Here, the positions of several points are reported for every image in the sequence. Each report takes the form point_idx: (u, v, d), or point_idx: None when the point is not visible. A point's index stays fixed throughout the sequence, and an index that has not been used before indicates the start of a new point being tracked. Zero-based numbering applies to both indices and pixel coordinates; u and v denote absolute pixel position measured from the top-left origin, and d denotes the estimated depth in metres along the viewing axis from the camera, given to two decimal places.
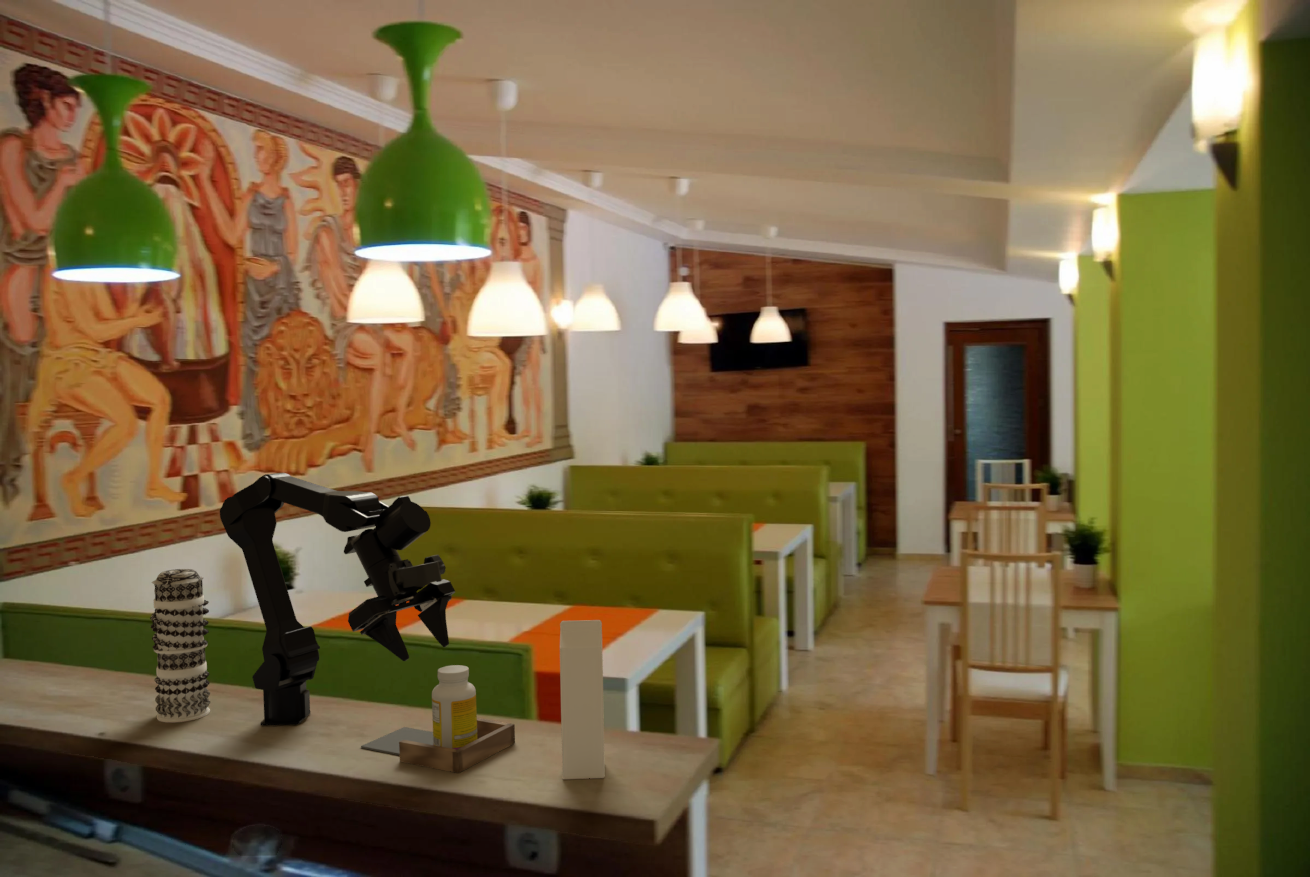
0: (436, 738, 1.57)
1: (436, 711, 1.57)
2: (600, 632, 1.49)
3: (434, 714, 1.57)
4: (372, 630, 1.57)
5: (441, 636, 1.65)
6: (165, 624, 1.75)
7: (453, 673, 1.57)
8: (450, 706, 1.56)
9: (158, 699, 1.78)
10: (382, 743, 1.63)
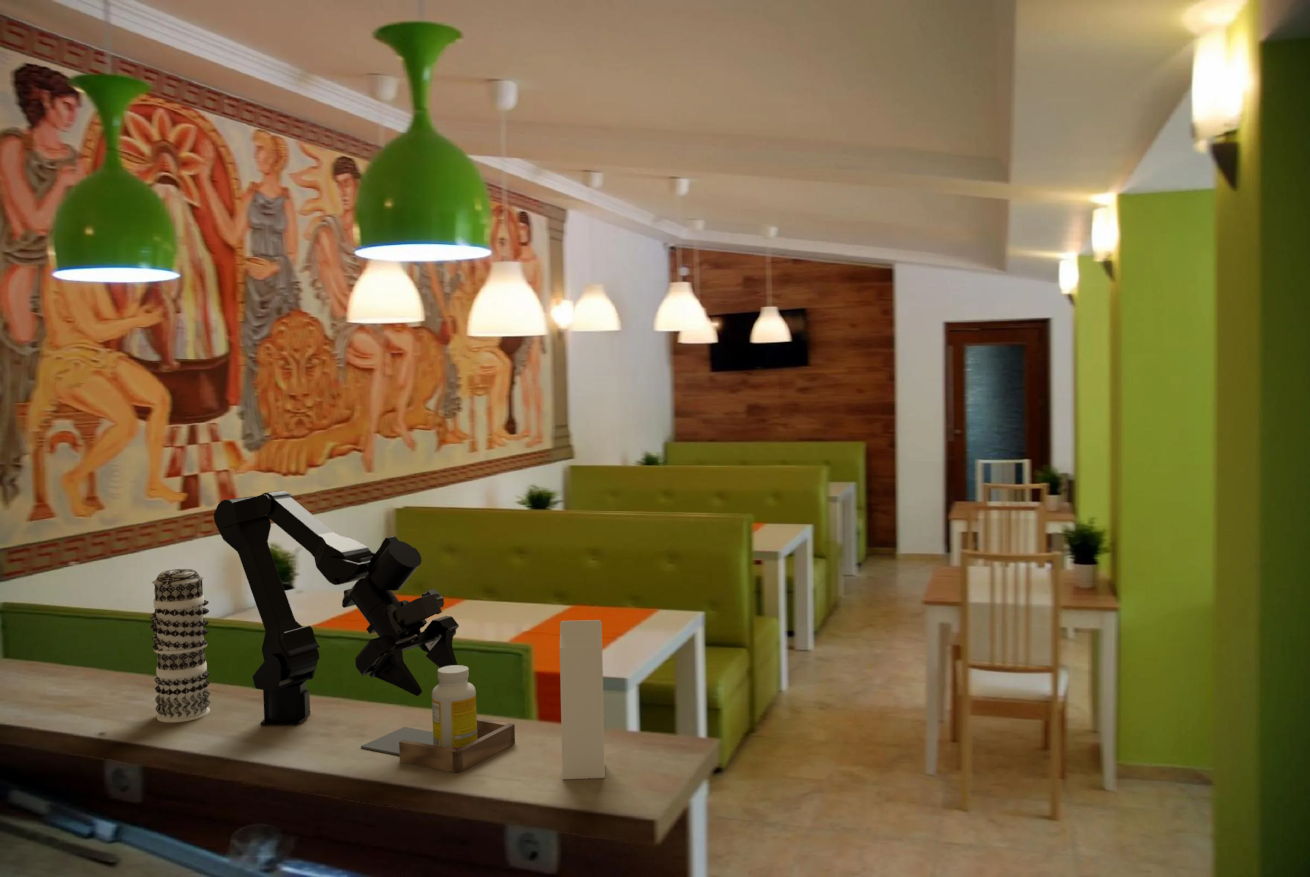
0: (436, 738, 1.57)
1: (436, 711, 1.57)
2: (600, 632, 1.49)
3: (434, 714, 1.57)
4: (381, 671, 1.57)
5: None
6: (165, 624, 1.75)
7: (453, 673, 1.57)
8: (450, 706, 1.56)
9: (158, 699, 1.78)
10: (382, 743, 1.63)
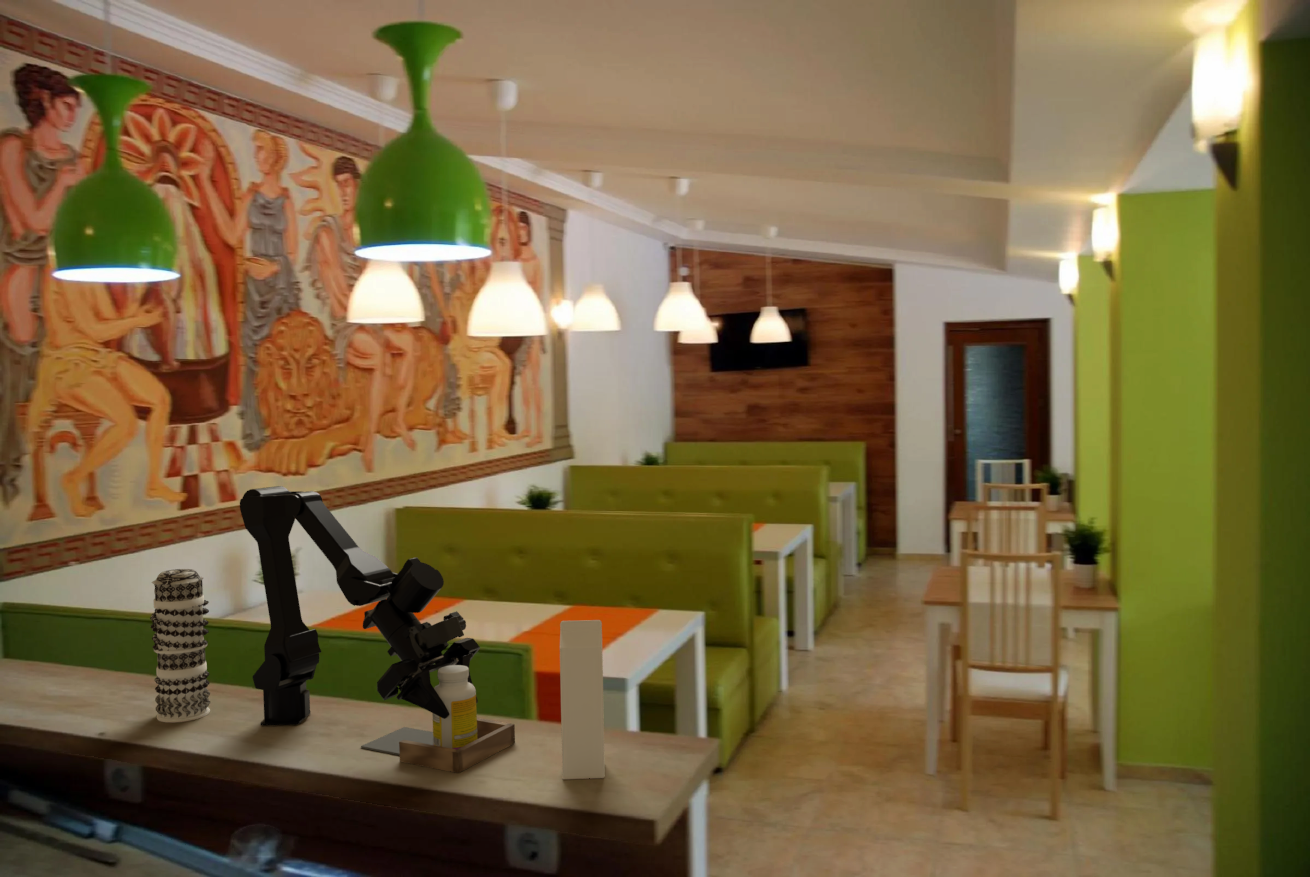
0: (436, 738, 1.57)
1: None
2: (600, 632, 1.49)
3: (434, 714, 1.57)
4: (408, 693, 1.56)
5: None
6: (165, 624, 1.75)
7: (453, 673, 1.57)
8: (450, 706, 1.56)
9: (158, 699, 1.78)
10: (382, 743, 1.63)
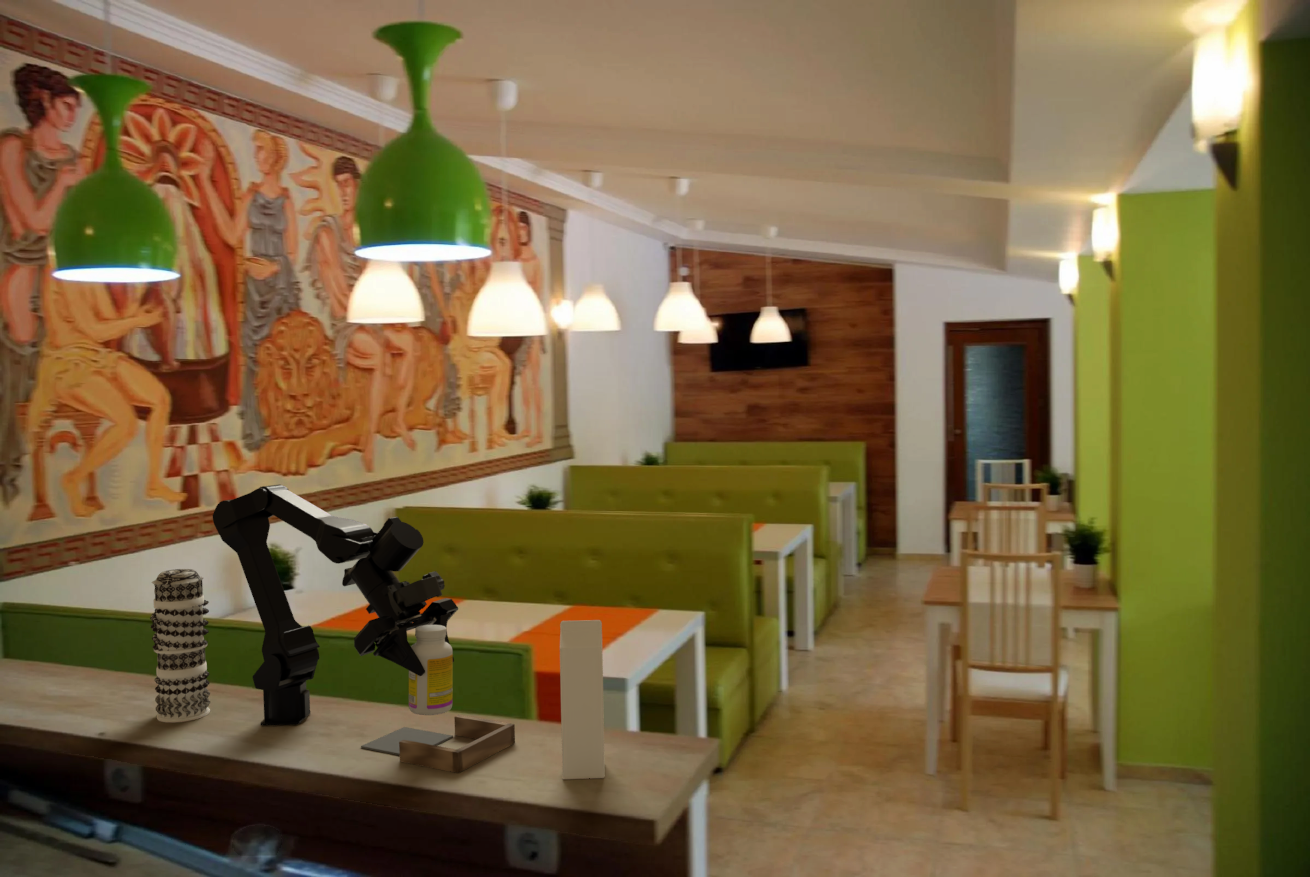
0: (411, 695, 1.59)
1: None
2: (600, 632, 1.49)
3: (410, 671, 1.59)
4: (385, 650, 1.58)
5: None
6: (165, 624, 1.75)
7: (430, 631, 1.59)
8: (427, 663, 1.58)
9: (158, 699, 1.78)
10: (382, 743, 1.63)
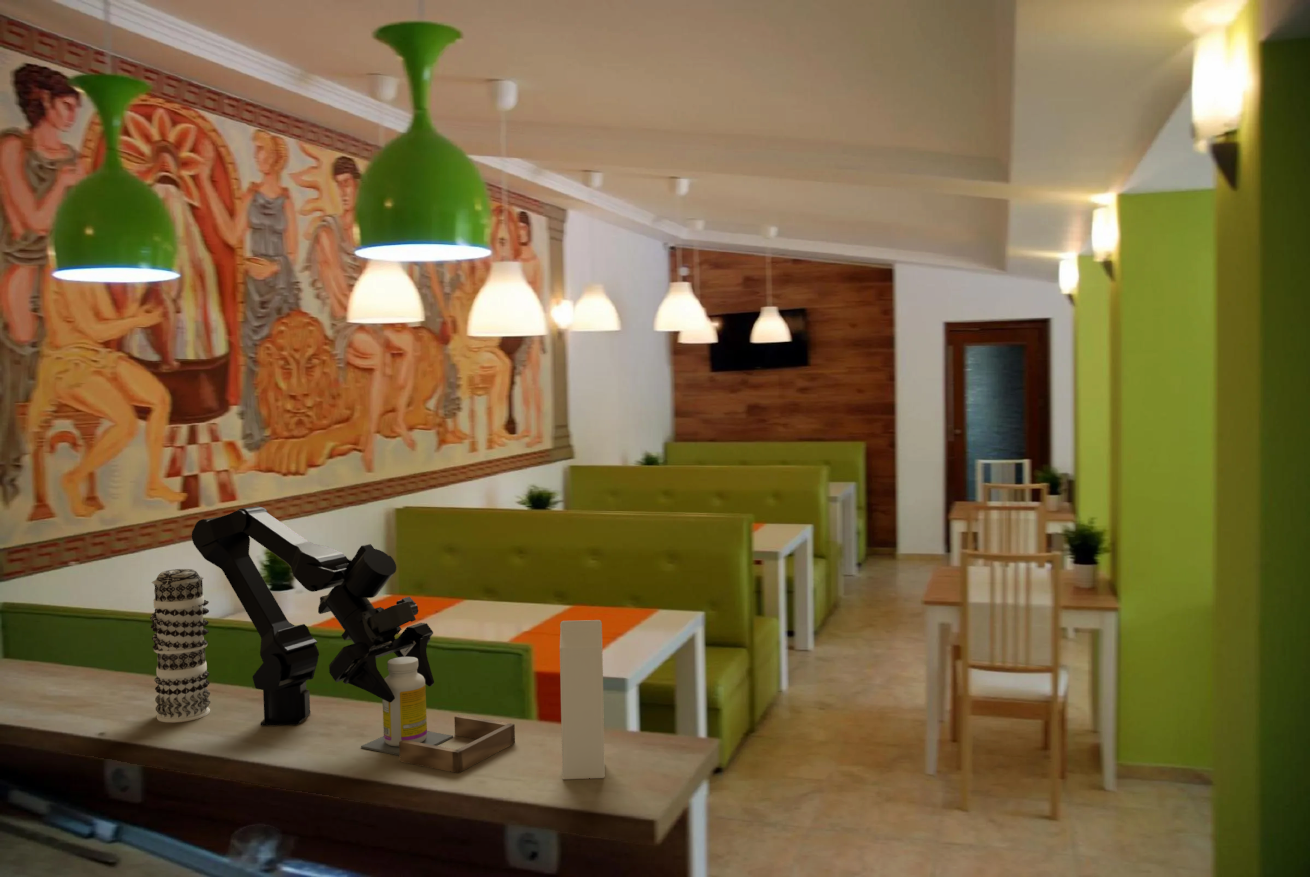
0: (386, 727, 1.62)
1: (385, 701, 1.61)
2: (600, 632, 1.49)
3: (384, 704, 1.62)
4: (355, 678, 1.60)
5: (425, 676, 1.67)
6: (165, 624, 1.75)
7: (402, 664, 1.61)
8: (399, 696, 1.60)
9: (158, 699, 1.78)
10: (382, 743, 1.63)
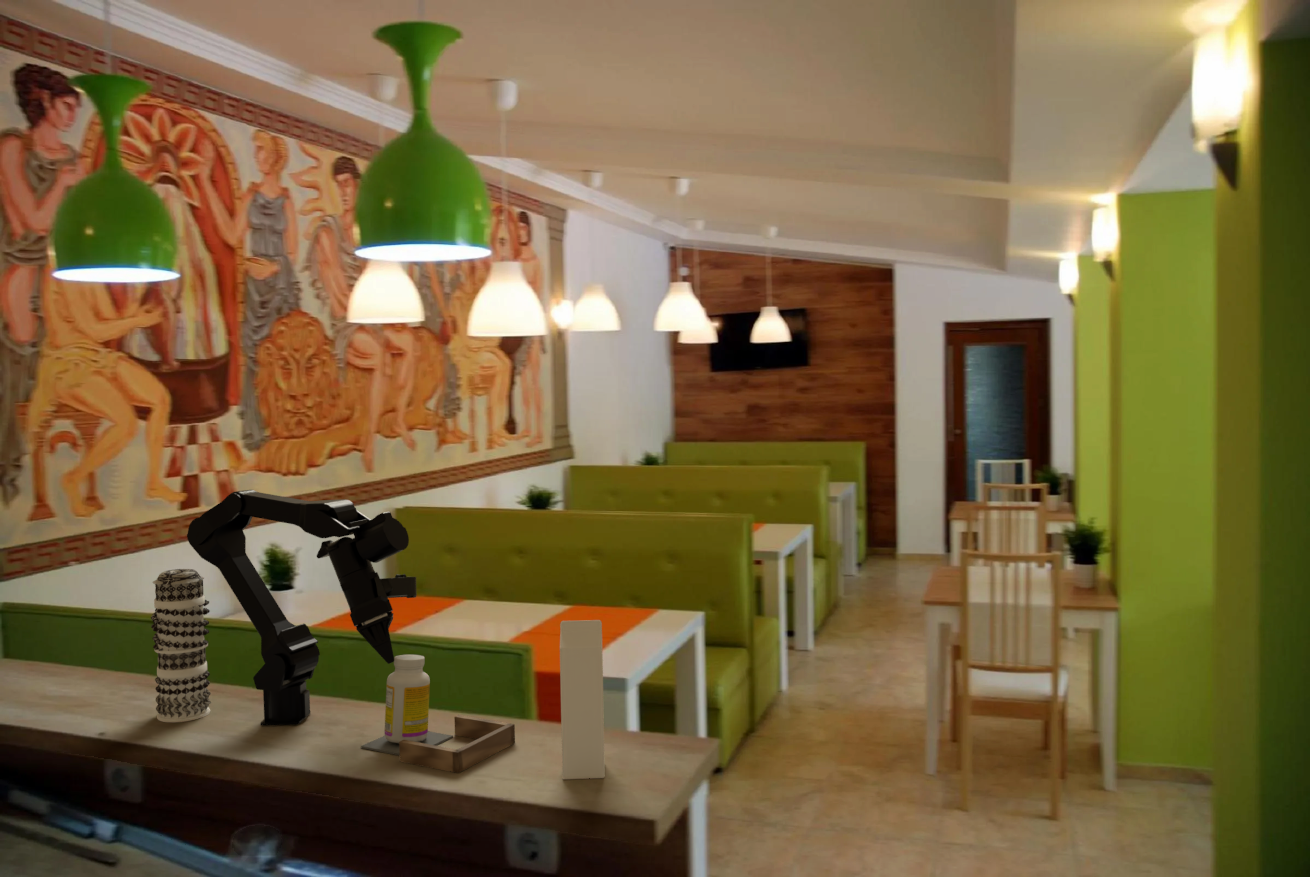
0: (388, 723, 1.62)
1: (389, 696, 1.62)
2: (600, 632, 1.49)
3: (387, 699, 1.62)
4: (366, 628, 1.62)
5: None
6: (165, 624, 1.75)
7: (409, 660, 1.62)
8: (403, 691, 1.61)
9: (158, 699, 1.78)
10: (382, 743, 1.63)
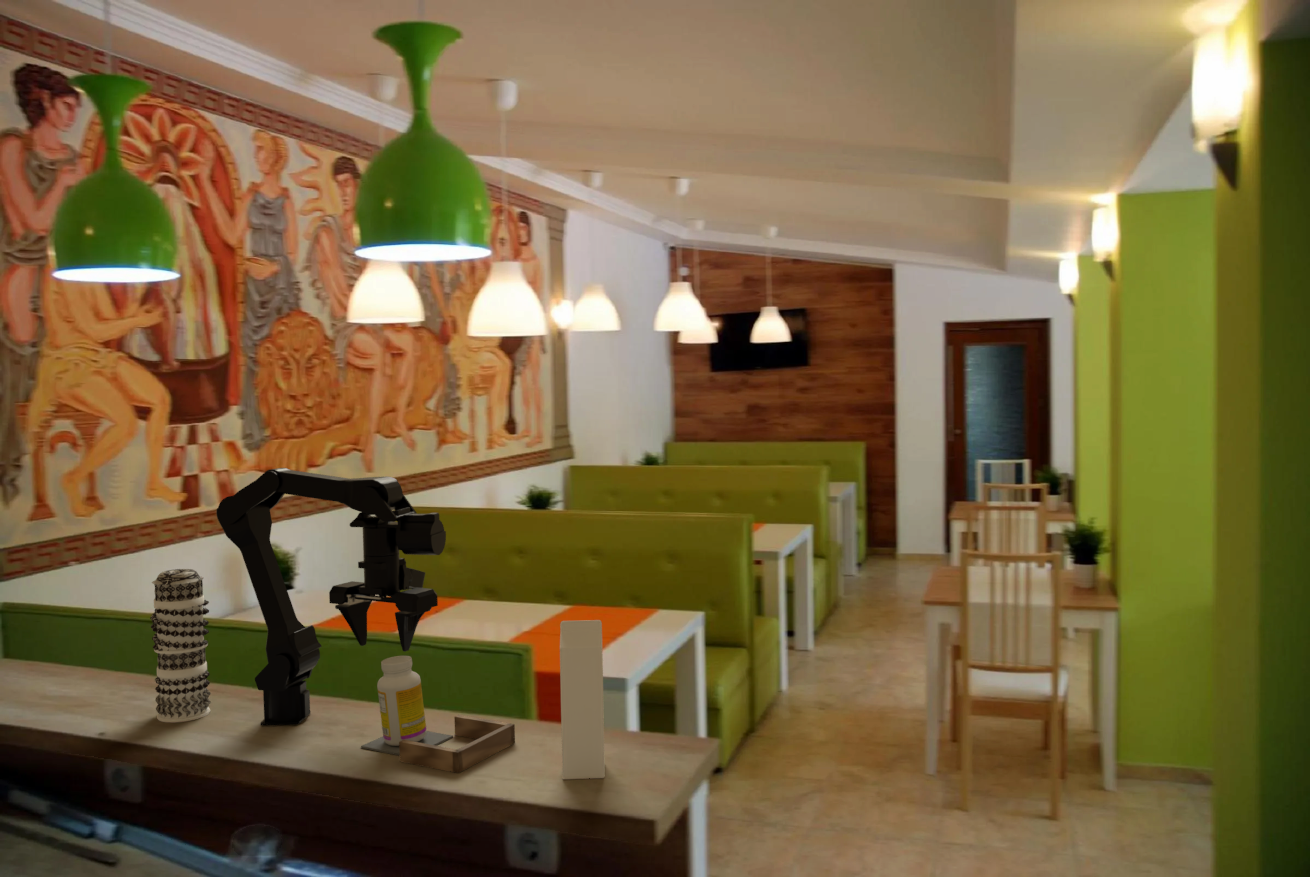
0: (385, 727, 1.61)
1: (382, 702, 1.61)
2: (600, 632, 1.49)
3: (381, 705, 1.62)
4: None
5: (364, 635, 1.74)
6: (165, 624, 1.75)
7: (396, 664, 1.61)
8: (395, 696, 1.60)
9: (158, 699, 1.78)
10: (382, 743, 1.63)
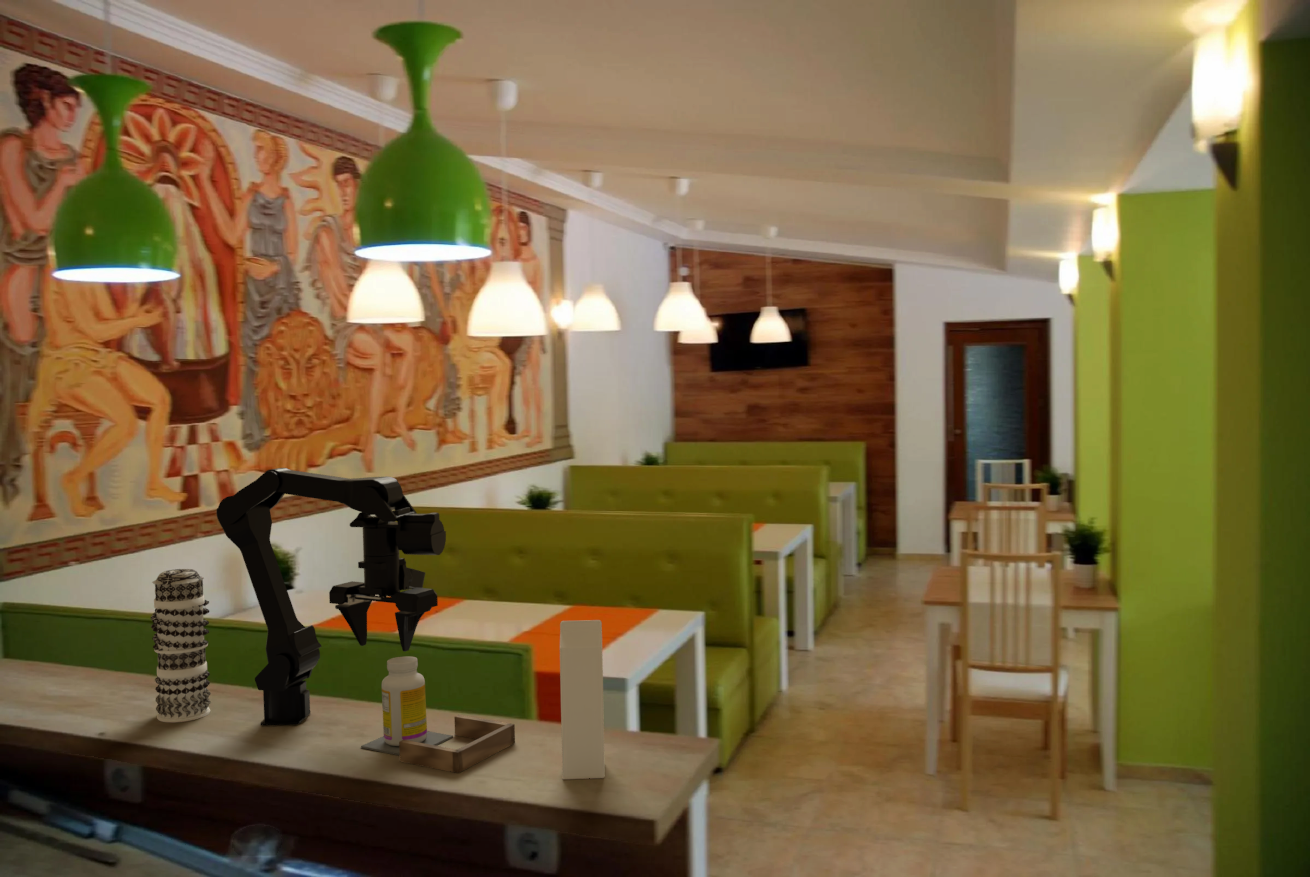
0: (386, 727, 1.62)
1: (385, 701, 1.61)
2: (600, 632, 1.49)
3: (384, 704, 1.62)
4: None
5: (364, 635, 1.74)
6: (165, 624, 1.75)
7: (402, 663, 1.61)
8: (400, 695, 1.60)
9: (158, 699, 1.78)
10: (382, 743, 1.63)
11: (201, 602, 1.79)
